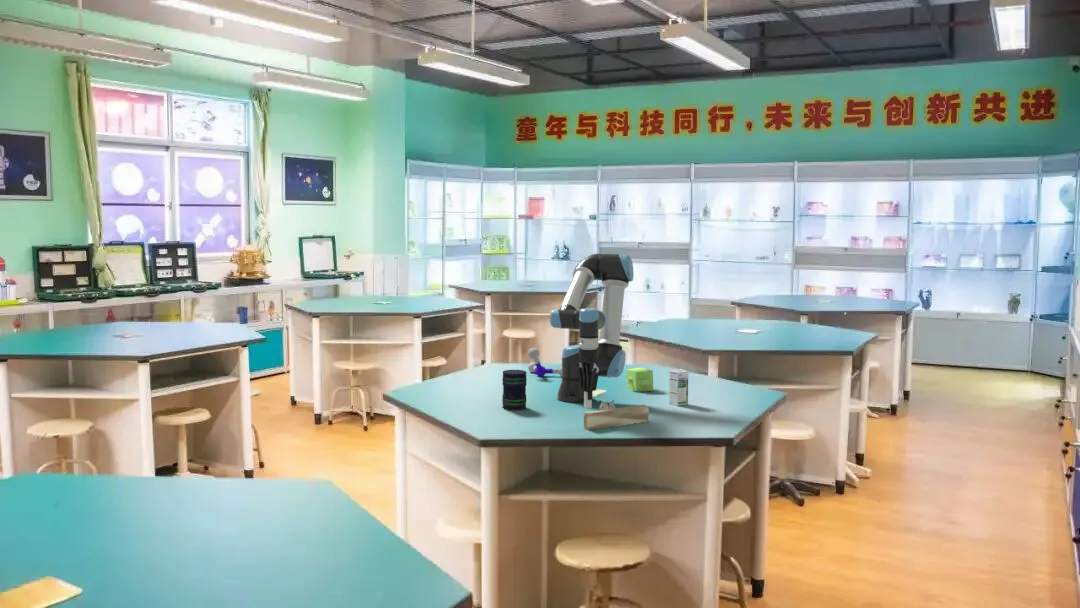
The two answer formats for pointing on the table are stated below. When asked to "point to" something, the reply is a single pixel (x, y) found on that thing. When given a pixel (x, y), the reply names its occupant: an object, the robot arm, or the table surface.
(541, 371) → the molecular model
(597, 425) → the birch board
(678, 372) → the syrup box
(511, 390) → the storage jar
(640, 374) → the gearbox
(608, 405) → the game die
